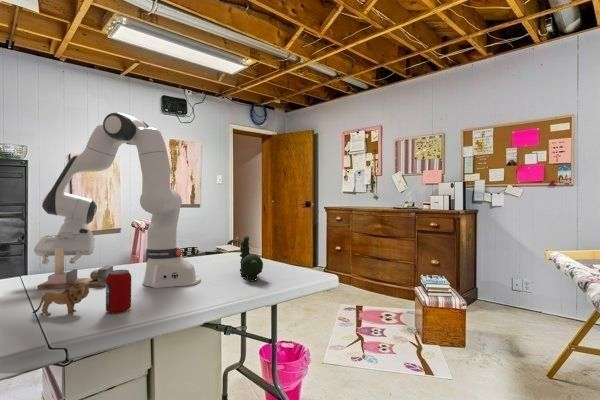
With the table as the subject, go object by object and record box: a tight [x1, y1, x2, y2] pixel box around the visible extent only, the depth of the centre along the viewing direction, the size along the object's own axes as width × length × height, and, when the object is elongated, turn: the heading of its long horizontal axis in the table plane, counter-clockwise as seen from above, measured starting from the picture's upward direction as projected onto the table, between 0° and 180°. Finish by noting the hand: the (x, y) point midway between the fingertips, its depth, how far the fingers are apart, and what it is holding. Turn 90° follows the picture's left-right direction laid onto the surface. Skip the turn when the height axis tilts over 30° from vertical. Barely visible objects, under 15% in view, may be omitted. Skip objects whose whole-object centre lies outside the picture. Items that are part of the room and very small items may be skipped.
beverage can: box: [105, 269, 132, 315], centre depth 101 cm, size 7×7×12 cm
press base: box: [36, 265, 114, 290], centre depth 132 cm, size 24×10×6 cm, turn 102°
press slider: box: [47, 248, 78, 284], centre depth 131 cm, size 7×8×13 cm
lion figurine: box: [31, 282, 90, 317], centre depth 99 cm, size 15×5×9 cm, turn 105°
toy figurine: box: [239, 235, 264, 281], centre depth 147 cm, size 9×19×25 cm
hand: (58, 263), depth 130 cm, fingers open, 8 cm apart
